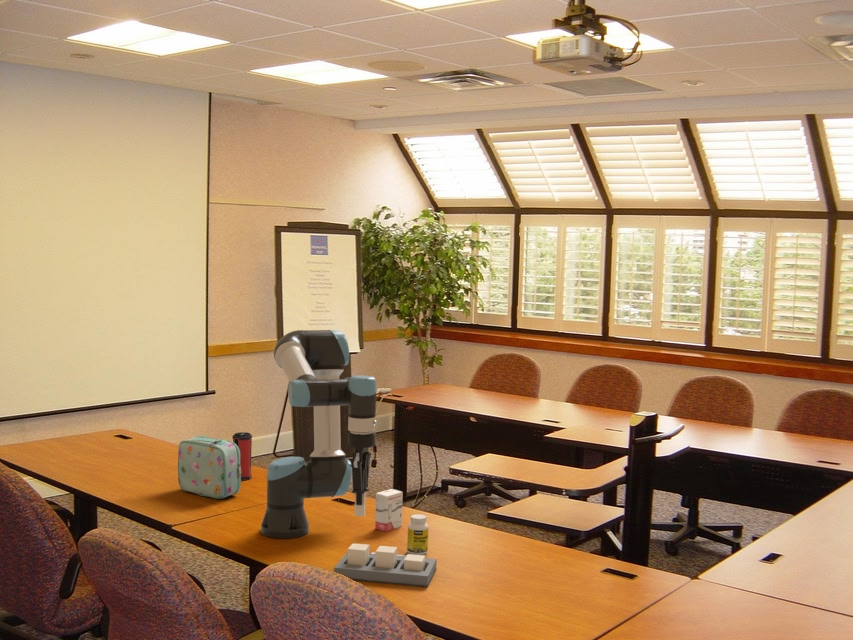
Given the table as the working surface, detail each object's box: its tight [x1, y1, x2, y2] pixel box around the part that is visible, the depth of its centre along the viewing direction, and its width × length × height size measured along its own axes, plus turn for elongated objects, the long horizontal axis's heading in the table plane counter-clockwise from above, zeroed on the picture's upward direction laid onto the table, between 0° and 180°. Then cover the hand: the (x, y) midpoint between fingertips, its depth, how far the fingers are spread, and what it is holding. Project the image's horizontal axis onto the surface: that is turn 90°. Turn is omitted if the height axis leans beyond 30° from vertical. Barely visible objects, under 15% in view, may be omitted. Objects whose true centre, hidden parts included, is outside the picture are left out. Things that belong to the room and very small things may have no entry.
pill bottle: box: [406, 514, 429, 556], centre depth 256 cm, size 6×6×11 cm
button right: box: [404, 553, 426, 571], centre depth 236 cm, size 5×5×4 cm
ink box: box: [374, 488, 404, 532], centre depth 281 cm, size 9×5×12 cm, turn 142°
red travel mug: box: [231, 431, 253, 481], centre depth 340 cm, size 8×8×18 cm
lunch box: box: [177, 435, 242, 500], centre depth 316 cm, size 27×10×21 cm, turn 58°
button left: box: [347, 543, 371, 566], centre depth 239 cm, size 5×5×4 cm
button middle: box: [375, 545, 398, 568], centre depth 238 cm, size 5×5×4 cm
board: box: [333, 551, 437, 588], centre depth 238 cm, size 26×14×3 cm, turn 80°
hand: (360, 515), depth 239 cm, fingers closed
